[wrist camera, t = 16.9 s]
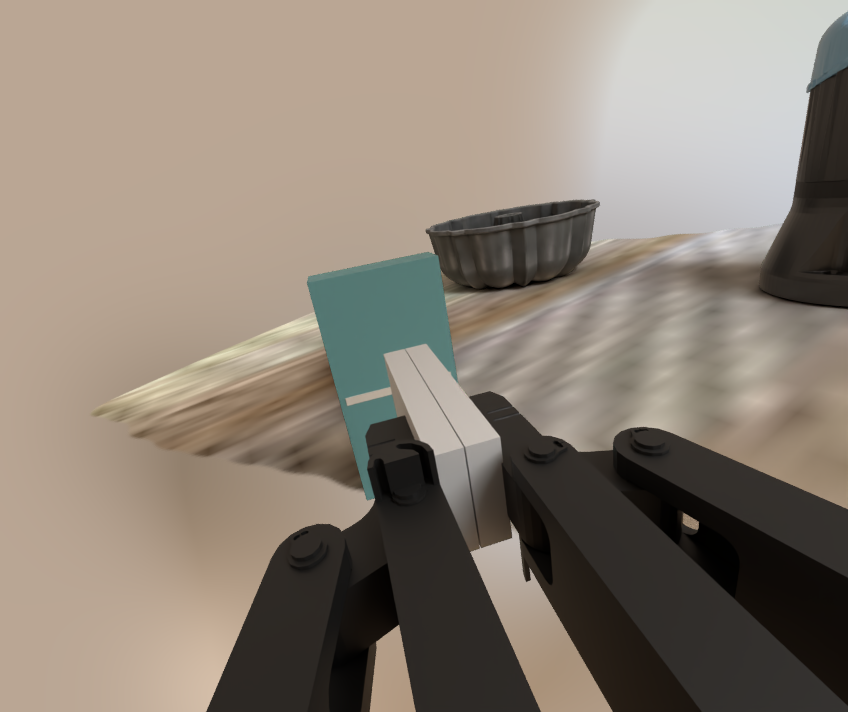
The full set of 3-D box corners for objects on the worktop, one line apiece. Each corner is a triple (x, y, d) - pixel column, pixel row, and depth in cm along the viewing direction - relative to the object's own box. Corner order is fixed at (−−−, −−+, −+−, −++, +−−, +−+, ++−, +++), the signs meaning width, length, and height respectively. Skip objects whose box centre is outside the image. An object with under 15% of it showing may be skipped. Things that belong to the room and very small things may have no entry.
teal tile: (460, 450, 25) (427, 251, 21) (471, 470, 23) (438, 255, 19) (363, 478, 24) (308, 276, 20) (367, 501, 22) (306, 283, 18)
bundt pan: (593, 293, 51) (591, 209, 48) (409, 302, 63) (396, 236, 59) (605, 253, 73) (604, 193, 69) (466, 265, 85) (459, 215, 81)
